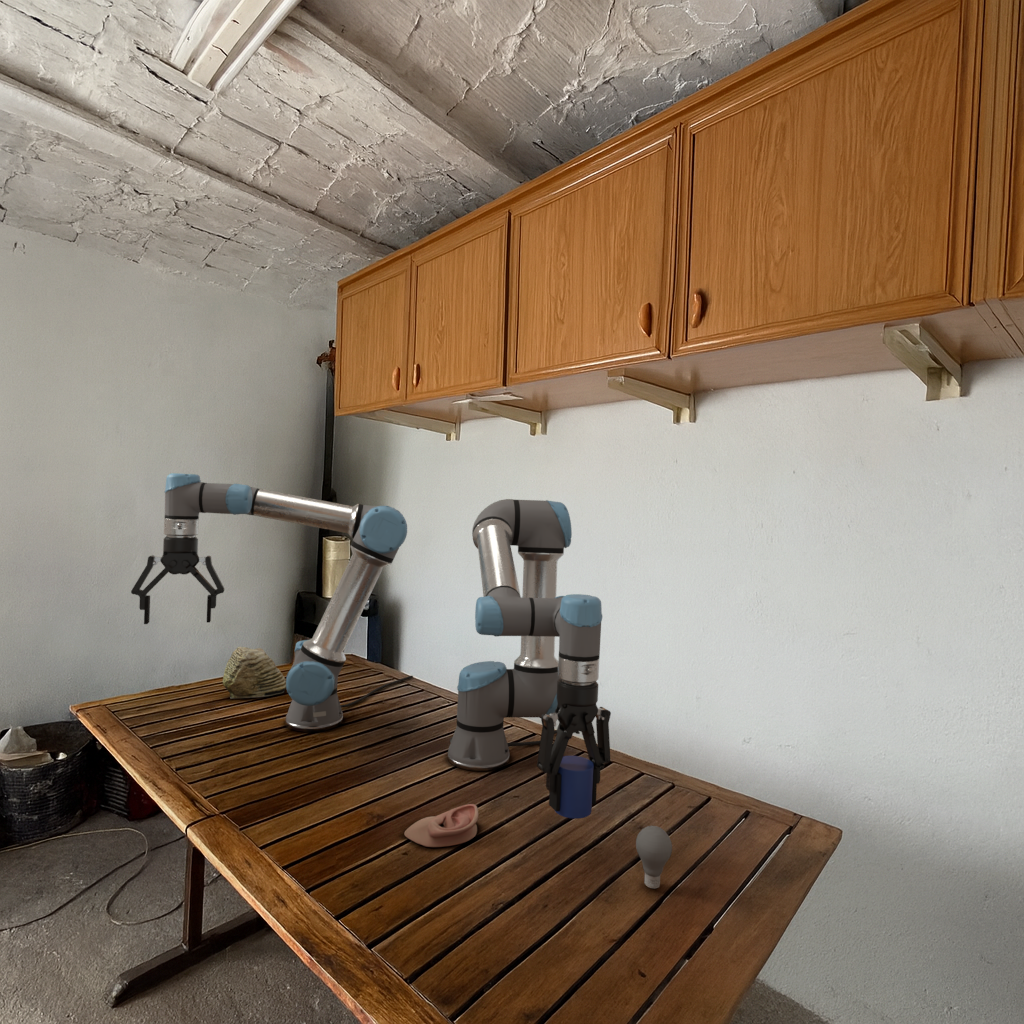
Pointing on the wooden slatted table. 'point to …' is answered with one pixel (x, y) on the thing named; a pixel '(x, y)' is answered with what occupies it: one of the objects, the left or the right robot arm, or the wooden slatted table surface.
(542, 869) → the wooden slatted table surface
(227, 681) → the fossil
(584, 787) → the canister
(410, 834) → the anatomical model
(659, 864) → the light bulb
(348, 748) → the wooden slatted table surface
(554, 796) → the right robot arm
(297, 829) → the wooden slatted table surface
